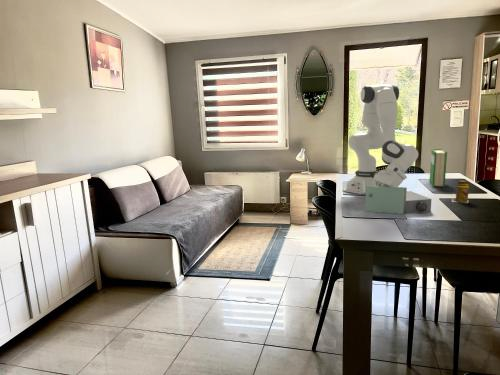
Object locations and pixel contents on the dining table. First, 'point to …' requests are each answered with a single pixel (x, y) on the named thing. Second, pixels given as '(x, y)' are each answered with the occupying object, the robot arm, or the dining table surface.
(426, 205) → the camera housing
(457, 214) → the dining table surface
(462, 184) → the condiment
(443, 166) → the hardback book
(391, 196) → the side door
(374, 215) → the dining table surface
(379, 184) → the robot arm
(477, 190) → the dining table surface
